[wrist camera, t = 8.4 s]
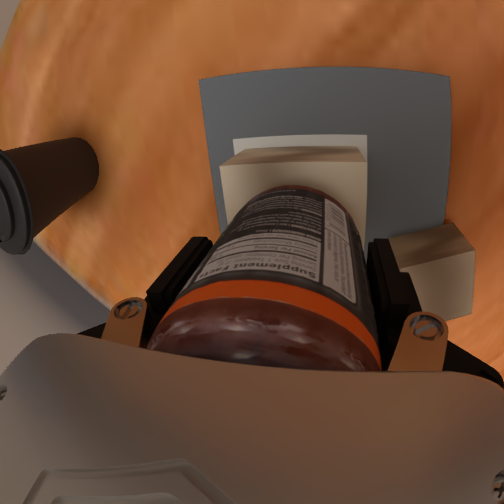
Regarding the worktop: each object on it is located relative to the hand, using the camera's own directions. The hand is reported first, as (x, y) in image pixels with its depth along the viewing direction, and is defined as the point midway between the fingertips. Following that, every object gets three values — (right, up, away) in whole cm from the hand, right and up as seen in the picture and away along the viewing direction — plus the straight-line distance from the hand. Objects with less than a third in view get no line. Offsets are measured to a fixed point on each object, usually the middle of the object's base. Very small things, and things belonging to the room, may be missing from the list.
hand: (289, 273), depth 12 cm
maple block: (+2, +4, +8) cm, 9 cm away
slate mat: (+4, +5, +7) cm, 10 cm away
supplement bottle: (+1, +1, +2) cm, 3 cm away
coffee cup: (-17, +8, +11) cm, 22 cm away
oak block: (+11, 0, +8) cm, 13 cm away
